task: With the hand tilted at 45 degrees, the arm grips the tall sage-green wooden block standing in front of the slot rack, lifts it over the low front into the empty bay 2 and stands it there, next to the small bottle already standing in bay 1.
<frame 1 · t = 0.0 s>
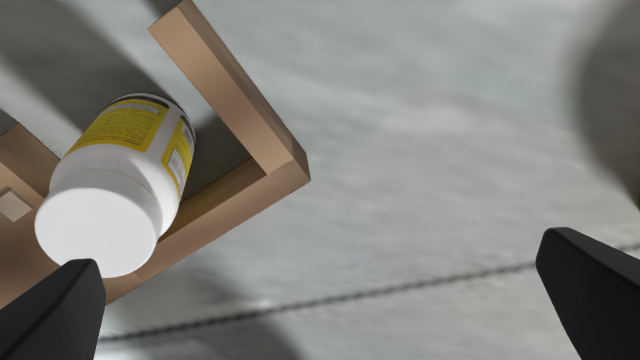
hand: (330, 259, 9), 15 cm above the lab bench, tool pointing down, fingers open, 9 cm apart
supplement bottle: (150, 134, 23), on the lab bench
slot rack: (22, 222, 24), on the lab bench
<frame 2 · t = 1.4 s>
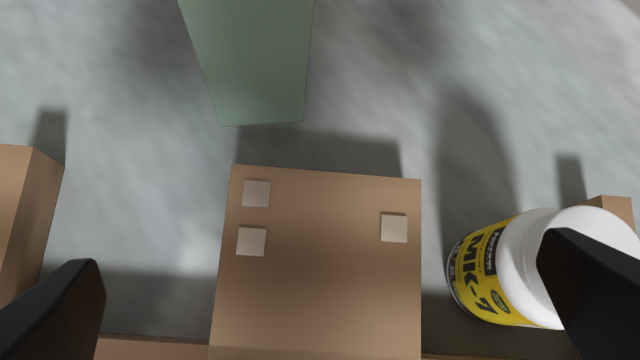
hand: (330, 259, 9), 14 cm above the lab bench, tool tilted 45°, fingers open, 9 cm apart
supplement bottle: (486, 276, 23), on the lab bench
slot rack: (317, 263, 23), on the lab bench
sage block: (259, 87, 25), on the lab bench
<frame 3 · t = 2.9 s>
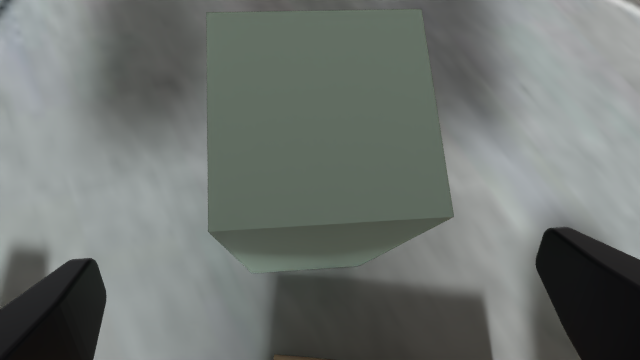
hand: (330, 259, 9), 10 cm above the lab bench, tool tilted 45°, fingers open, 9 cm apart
sage block: (302, 216, 19), on the lab bench
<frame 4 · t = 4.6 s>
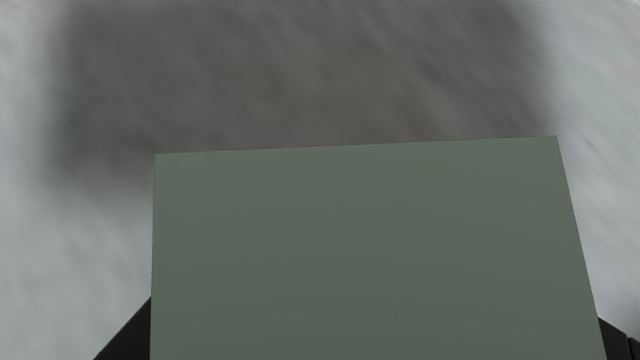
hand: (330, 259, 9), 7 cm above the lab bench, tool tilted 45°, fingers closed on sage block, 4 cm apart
sage block: (314, 318, 15), on the lab bench, touching gripper
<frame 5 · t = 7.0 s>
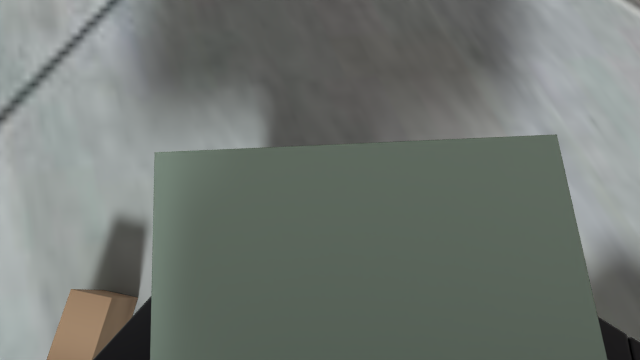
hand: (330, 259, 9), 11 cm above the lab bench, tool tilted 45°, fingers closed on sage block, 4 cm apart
sage block: (314, 318, 15), point 5 cm above the lab bench, touching gripper
when the fingers open (7 cm above the lab bench, at t = 9.4 s): sage block stays where it is, on the lab bench.
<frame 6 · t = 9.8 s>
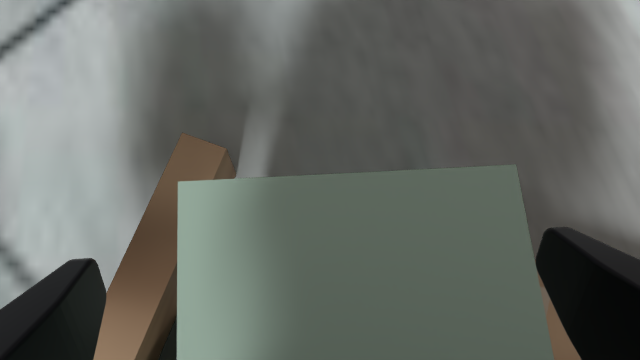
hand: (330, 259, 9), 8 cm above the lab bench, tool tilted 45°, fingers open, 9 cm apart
sage block: (312, 317, 16), on the lab bench
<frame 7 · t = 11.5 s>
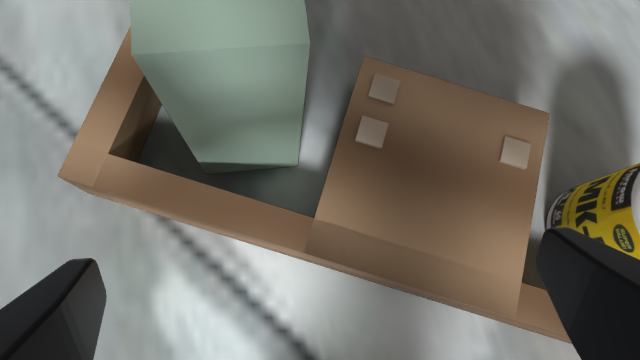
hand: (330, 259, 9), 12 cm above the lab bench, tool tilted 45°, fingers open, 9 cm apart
supplement bottle: (585, 234, 23), on the lab bench
slot rack: (418, 180, 22), on the lab bench
sage block: (248, 127, 22), on the lab bench
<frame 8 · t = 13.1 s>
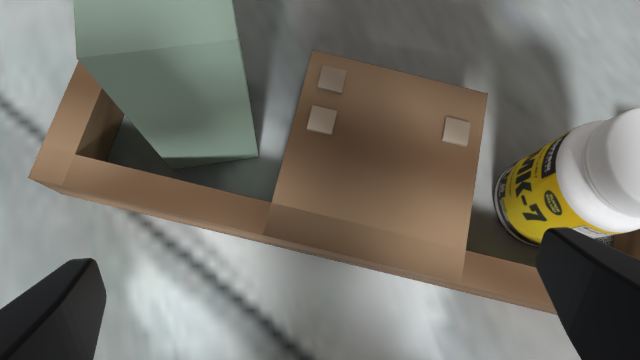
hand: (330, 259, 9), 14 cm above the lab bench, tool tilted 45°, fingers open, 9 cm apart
supplement bottle: (531, 205, 24), on the lab bench
slot rack: (373, 163, 24), on the lab bench
sage block: (210, 123, 24), on the lab bench
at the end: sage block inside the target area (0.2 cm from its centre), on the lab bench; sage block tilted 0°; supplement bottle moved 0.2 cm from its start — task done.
